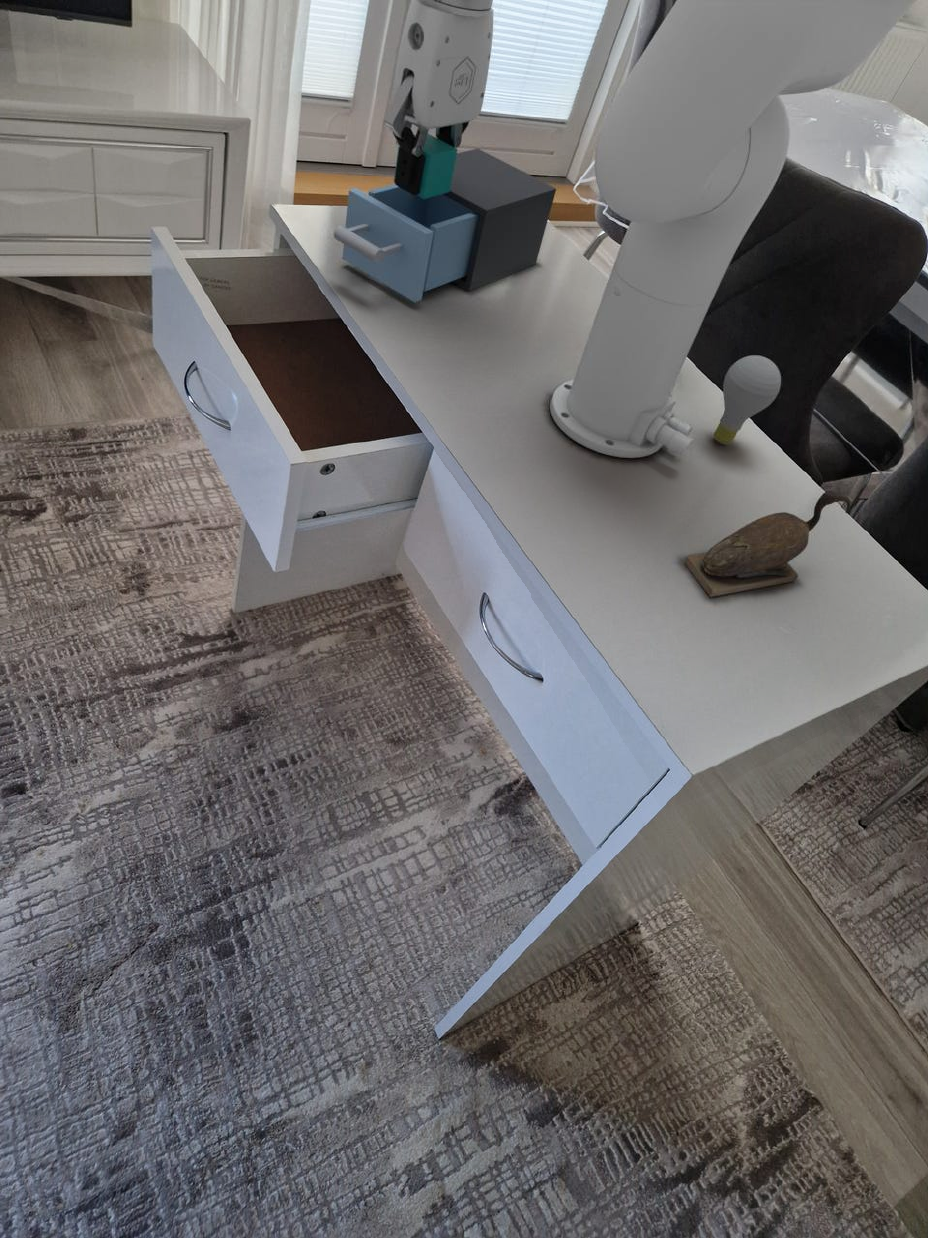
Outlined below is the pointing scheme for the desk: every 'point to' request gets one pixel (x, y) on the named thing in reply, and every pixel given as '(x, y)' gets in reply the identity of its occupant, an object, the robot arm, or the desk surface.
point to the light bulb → (746, 393)
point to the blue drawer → (408, 238)
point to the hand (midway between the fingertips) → (422, 183)
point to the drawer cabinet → (500, 215)
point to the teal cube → (436, 167)
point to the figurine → (757, 552)
